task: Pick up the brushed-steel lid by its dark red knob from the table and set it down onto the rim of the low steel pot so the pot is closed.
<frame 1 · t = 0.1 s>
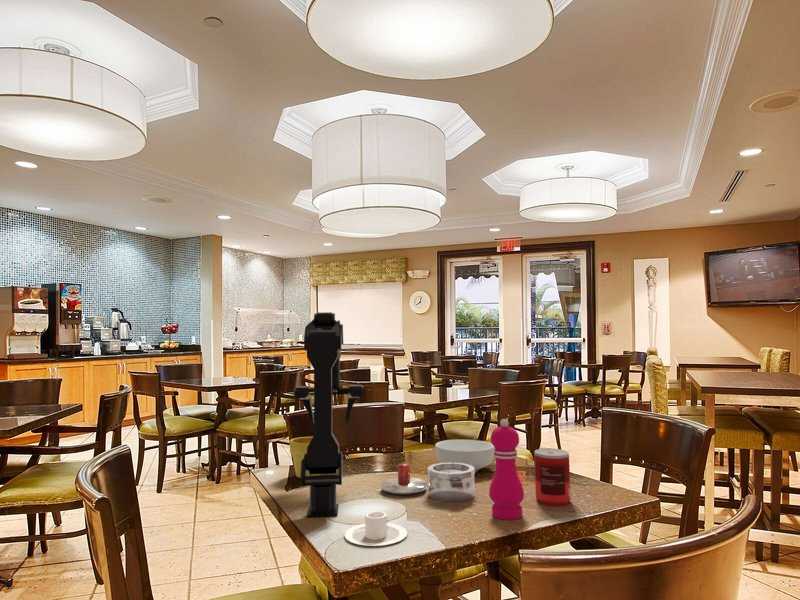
hand: (329, 423, 145), 15 cm above the table, tool pointing down, fingers open, 9 cm apart
cereal bowl: (465, 470, 151), on the table
pot: (451, 494, 127), on the table
lid: (404, 490, 131), on the table
plant pot: (308, 476, 147), on the table
pepper mill: (507, 515, 112), on the table
canned food: (553, 501, 121), on the table
candle holder: (375, 538, 102), on the table
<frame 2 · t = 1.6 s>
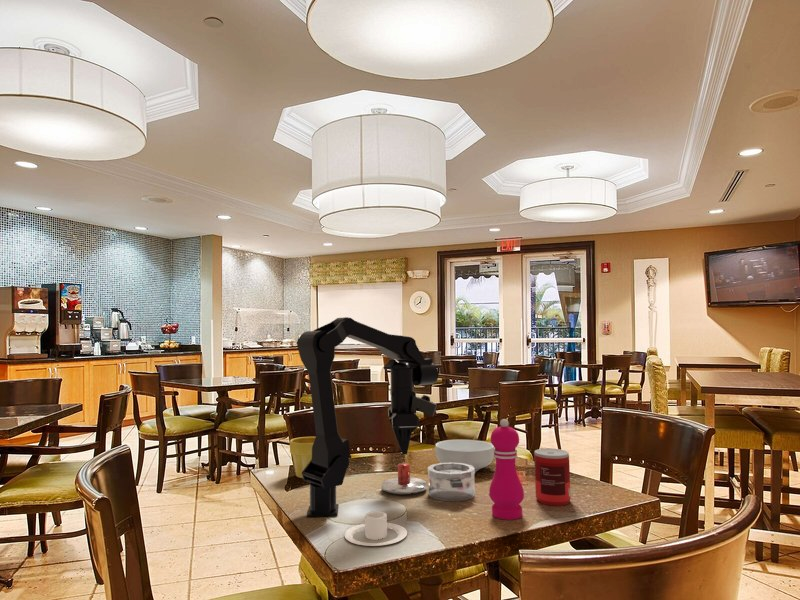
hand: (403, 450, 132), 10 cm above the table, tool pointing down, fingers open, 9 cm apart
nothing on the table moved.
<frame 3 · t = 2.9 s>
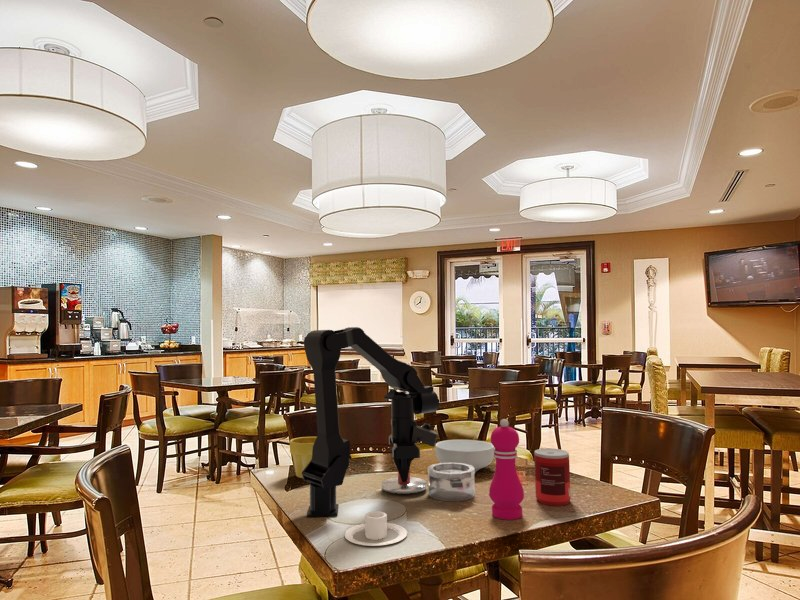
hand: (403, 480, 132), 2 cm above the table, tool pointing down, fingers closed on lid, 3 cm apart
lid: (404, 490, 131), on the table, touching gripper
everything else where it was.
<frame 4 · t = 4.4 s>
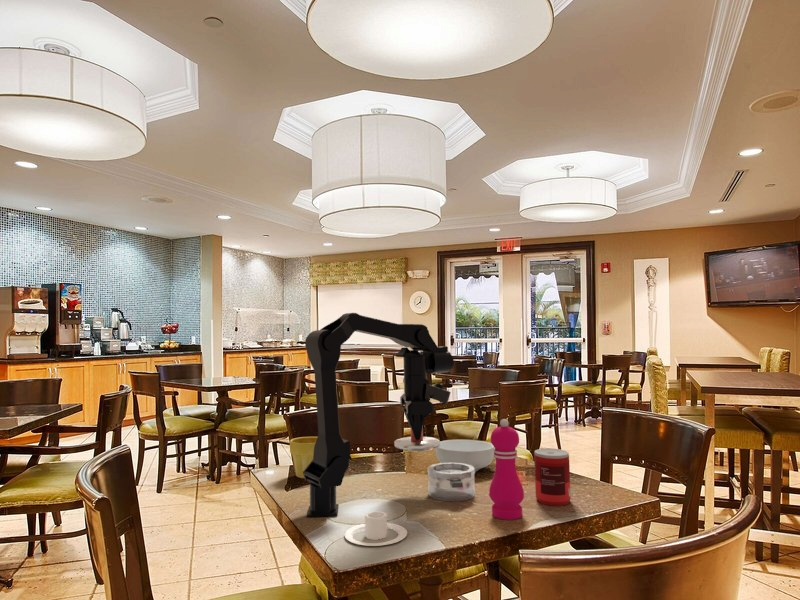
hand: (417, 438, 131), 13 cm above the table, tool pointing down, fingers closed on lid, 3 cm apart
lid: (417, 448, 131), point 10 cm above the table, touching gripper
everything else where it was.
when the fingers open (9 cm above the table, at t = 5.8 s): lid stays where it is, resting on pot.
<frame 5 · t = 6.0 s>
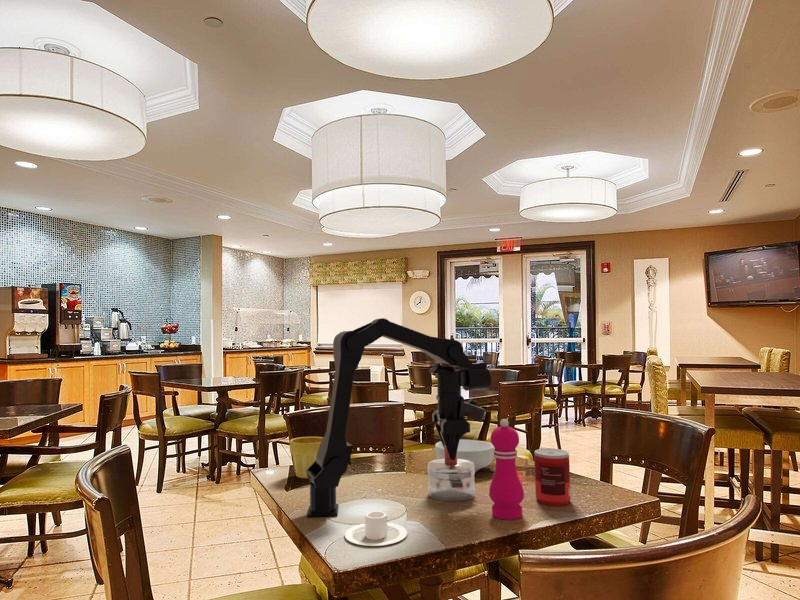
hand: (450, 457, 128), 9 cm above the table, tool pointing down, fingers open, 5 cm apart
lid: (451, 471, 128), point 5 cm above the table, touching pot
everything else where it was.
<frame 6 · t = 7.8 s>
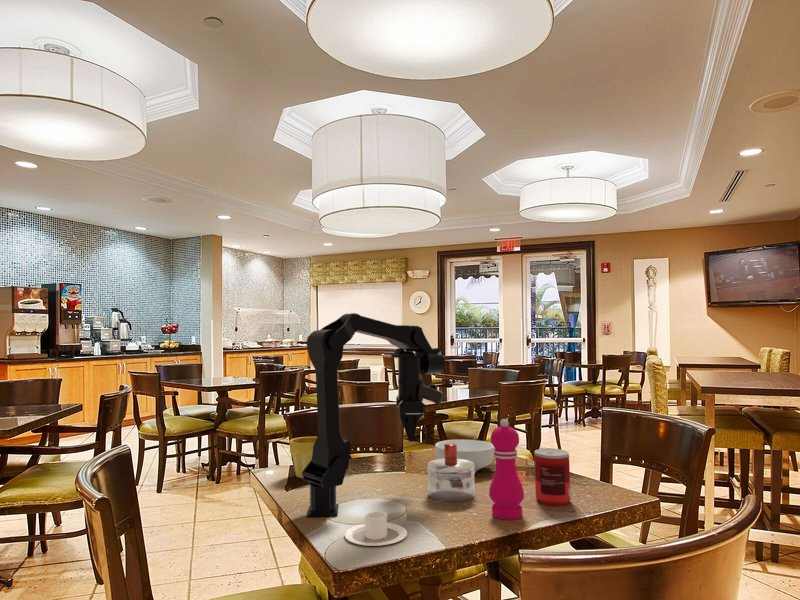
hand: (410, 437, 134), 12 cm above the table, tool pointing down, fingers open, 9 cm apart
nothing on the table moved.
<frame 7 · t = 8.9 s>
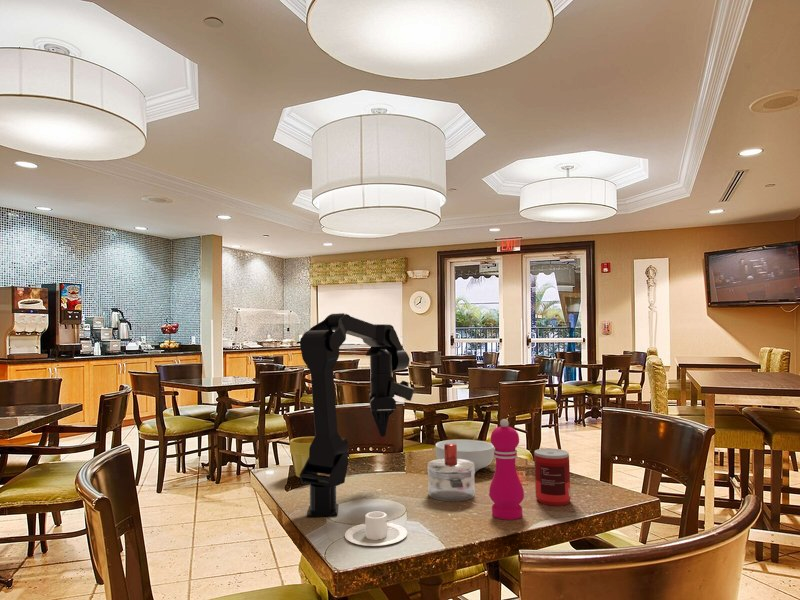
hand: (382, 433, 138), 13 cm above the table, tool pointing down, fingers open, 9 cm apart
nothing on the table moved.
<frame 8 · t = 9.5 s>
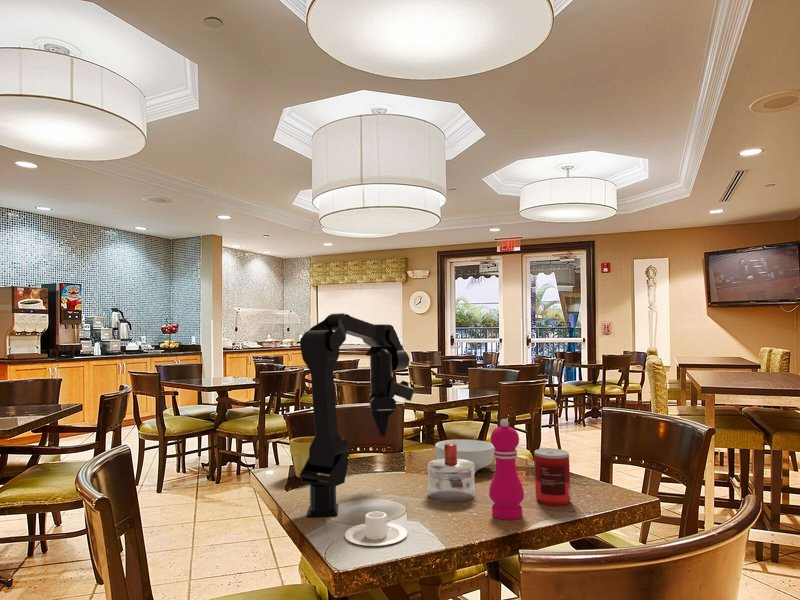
hand: (382, 433, 138), 13 cm above the table, tool pointing down, fingers open, 9 cm apart
nothing on the table moved.
at the end: lid 0.0 cm off-centre on the pot, point 5.4 cm above the pot's base; lid tilted 0°; the gripper is holding nothing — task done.
